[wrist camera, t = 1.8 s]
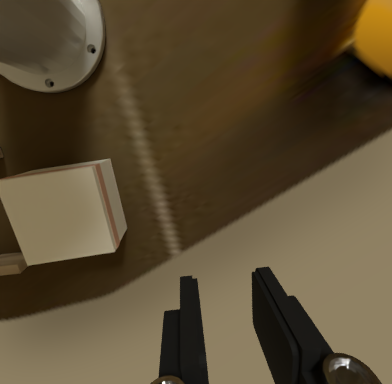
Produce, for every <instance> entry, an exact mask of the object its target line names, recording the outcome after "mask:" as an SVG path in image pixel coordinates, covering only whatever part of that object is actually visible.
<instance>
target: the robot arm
mask: <svg viewBox="0 0 392 384" xmlns="http://www.w3.org/2000/svg"><path fill="white" fill-rule="evenodd" d="M105 35H106V32H105V20H104V16H103V12H102V8H101V5H100V2H99V0H0V74H1V75H2V76H4V77H5V78H7V79H8V80H10V81H11V82H13V83H15V84H17V85H19V86H22V87H24V88H27V89H30V90H34V91H39V92H45V93H59V92H63V91H68V90H71V89H73V88H75V87H77V86H79V85H81V84H82V83H83V82H84V81H86V80H87V79H88V78H89V77H90V76H91V75H92V73H93V72H94V71H95V70H96V68H97V66H98V64H99V62H100V60H101V57H102V54H103V50H104V46H105ZM94 49H95V50H96V52H95V53H94V54H93V53H92V51H93V50H94ZM53 82H54V86H52V83H53ZM252 307H253V308H252V309H253V311H252V312H253V325H254V328H255V331H256V334H257V337H258V339H259V342H260V345H261V347H262V350H263V352H264V355H265V358H266V361H267V363H268V366H269V369H270V371H271V374H272V377H273V379H274V382H275V384H382V383H381V382H380V380H379V379H378V378H377V376H376V375H375V374H374V373H373V372H372V370H371V369H370V368H369V367H368V366H367V365H365V364H364V363H363V362H361V361H360V360H358V359H356V358H354V357H353V356H350V355H347V354H344V353H334V352H333V351H332V349H331V348H330V346H329V345H328V343H327V342H326V341H325V339H324V338H323V336H322V335H321V333H320V332H319V330H318V329H317V328H316V326H315V324H314V323H313V322H312V320H311V319H310V317H309V316H308V314H307V313H306V312H305V310H304V309H303V307H302V306H301V304H300V303H299V301H298V300H297V298H296V297H294V296H287V294H286V293H285V291H284V289H283V288H282V286H281V285H280V283H279V282H278V280H277V278H276V277H275V275H274V274H273V273H272V271H271V269H270V268H269V267H262V268H256V271H255V272H252ZM151 384H209V381H208V371H207V361H206V352H205V344H204V335H203V326H202V317H201V308H200V299H199V291H198V282H197V278H196V279H192V276H183V277H180V309H179V310H170V311H165V312H164V320H163V332H162V343H161V355H160V368H159V378H157V379H156V380H155V381H153V382H152V383H151Z"/></svg>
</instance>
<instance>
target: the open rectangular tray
mask: <svg viewBox="0 0 392 384" xmlns="http://www.w3.org/2000/svg"><path fill="white" fill-rule="evenodd" d="M3 157H4V156H3V153H2V150H1V147H0V158H3ZM27 267H28V266H27V263H26V261H25V258H24V256H23V253H22V252H19V253H10V254H0V276H1V275H10V274H19V273H21V272H22V271H23V270H25V269H26V268H27Z"/></svg>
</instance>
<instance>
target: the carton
mask: <svg viewBox="0 0 392 384" xmlns="http://www.w3.org/2000/svg"><path fill="white" fill-rule="evenodd" d="M0 198H1V200H2V203H3V205H4V208H5V210H6V213H7V215H8V218H9V220H10V223H11V225H12V228H13V230H14V233H15V236H16V238H17V241H18V243H19V246H20V248H21V251H22V253H23V256H24V258H25V261H26V263H27V266H29V265H35V264H42V263H48V262H54V261H61V260H67V259H73V258H79V257H86V256H92V255H98V254H105V253H111V252H115V250H116V249H117V248H118V246H119V244H120V241H121V239H122V237H123V235H124V233H125V231H126V230H127V225H126V221H125V217H124V213H123V209H122V205H121V201H120V197H119V192H118V188H117V184H116V180H115V176H114V172H113V168H112V164H111V160H110V159H105V160H98V161H91V162H84V163H78V164H71V165H64V166H57V167H51V168H44V169H37V170H32V171H28V172H25V173H21V174H18V175H15V176H9V177H6V178H2V179H0Z"/></svg>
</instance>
